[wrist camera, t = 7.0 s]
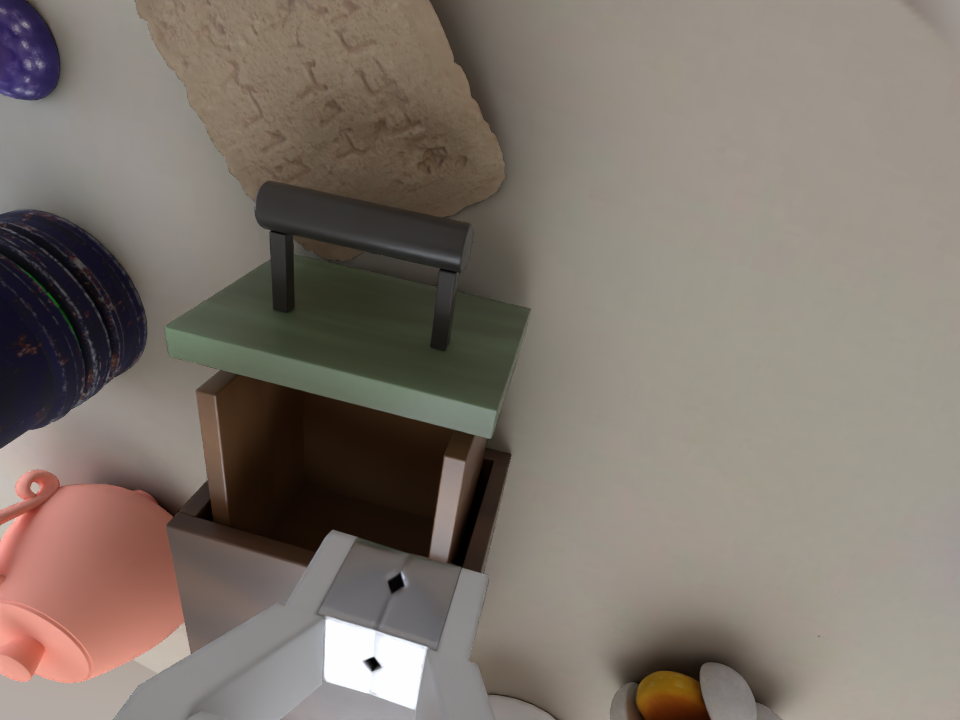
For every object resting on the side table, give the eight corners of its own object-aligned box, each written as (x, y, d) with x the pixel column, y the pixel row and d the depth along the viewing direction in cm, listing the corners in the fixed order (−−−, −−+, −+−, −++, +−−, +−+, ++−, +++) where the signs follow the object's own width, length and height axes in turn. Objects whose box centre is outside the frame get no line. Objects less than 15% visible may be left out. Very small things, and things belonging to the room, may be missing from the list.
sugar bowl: (134, 599, 44) (15, 736, 35) (10, 459, 39) (-167, 581, 30) (254, 584, 40) (152, 736, 31) (132, 424, 34) (-32, 554, 26)
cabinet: (285, 395, 31) (164, 525, 23) (511, 454, 29) (470, 614, 21) (291, 571, 38) (202, 716, 30) (471, 624, 37) (430, 790, 29)
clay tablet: (123, -68, 21) (62, -81, 19) (331, -264, 17) (287, -309, 15) (330, 271, 26) (302, 293, 24) (526, 179, 23) (516, 195, 20)
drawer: (278, 144, 23) (140, 186, 16) (554, 201, 22) (525, 272, 15) (289, 474, 32) (204, 586, 26) (483, 527, 31) (445, 659, 25)
